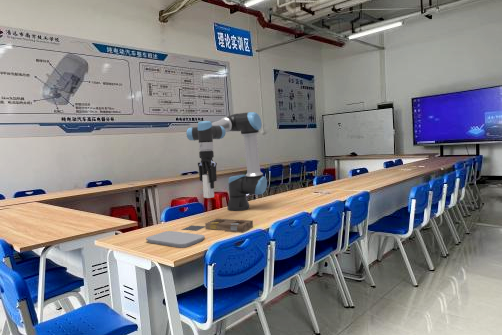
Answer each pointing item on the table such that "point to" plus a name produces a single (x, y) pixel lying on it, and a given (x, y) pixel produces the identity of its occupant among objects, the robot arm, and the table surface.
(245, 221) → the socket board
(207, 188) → the grey upright block
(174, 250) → the table surface
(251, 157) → the robot arm
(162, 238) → the tablet
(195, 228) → the mat
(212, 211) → the table surface
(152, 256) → the table surface
